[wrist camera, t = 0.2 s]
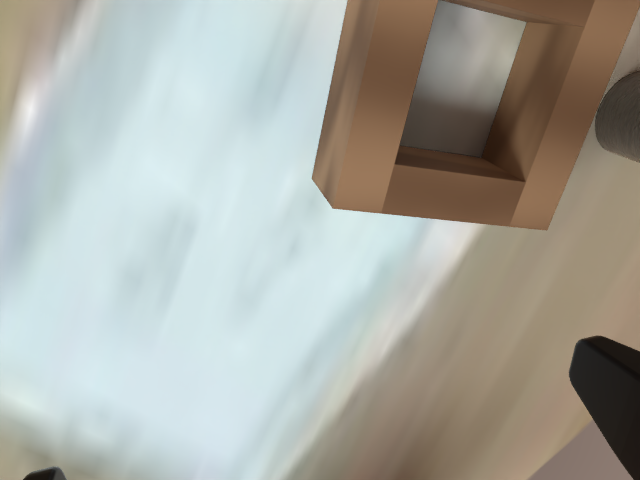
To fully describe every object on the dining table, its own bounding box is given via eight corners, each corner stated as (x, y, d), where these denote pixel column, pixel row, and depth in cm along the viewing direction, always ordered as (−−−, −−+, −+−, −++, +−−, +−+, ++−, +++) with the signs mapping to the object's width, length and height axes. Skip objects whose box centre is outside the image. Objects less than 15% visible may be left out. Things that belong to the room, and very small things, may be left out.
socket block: (502, 201, 25) (547, 230, 22) (311, 178, 22) (332, 208, 19) (583, -19, 21) (650, -21, 18) (364, -84, 18) (402, -99, 15)
